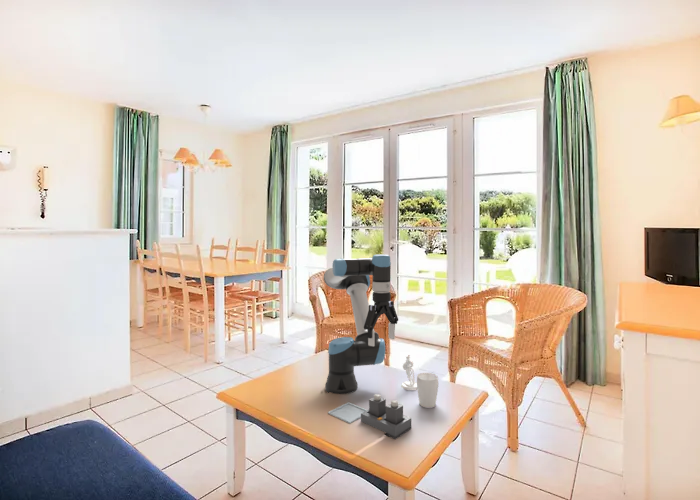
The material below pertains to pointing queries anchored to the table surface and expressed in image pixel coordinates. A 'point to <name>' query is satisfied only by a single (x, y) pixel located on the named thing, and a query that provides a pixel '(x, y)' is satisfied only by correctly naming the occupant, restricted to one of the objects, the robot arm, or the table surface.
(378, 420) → the gray block holder
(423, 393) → the cup
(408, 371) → the figurine
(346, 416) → the tray
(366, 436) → the table surface
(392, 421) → the plug
